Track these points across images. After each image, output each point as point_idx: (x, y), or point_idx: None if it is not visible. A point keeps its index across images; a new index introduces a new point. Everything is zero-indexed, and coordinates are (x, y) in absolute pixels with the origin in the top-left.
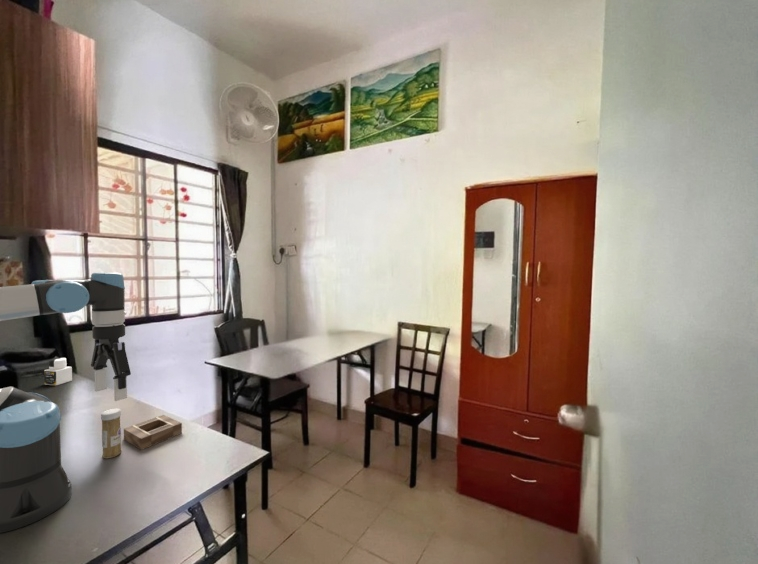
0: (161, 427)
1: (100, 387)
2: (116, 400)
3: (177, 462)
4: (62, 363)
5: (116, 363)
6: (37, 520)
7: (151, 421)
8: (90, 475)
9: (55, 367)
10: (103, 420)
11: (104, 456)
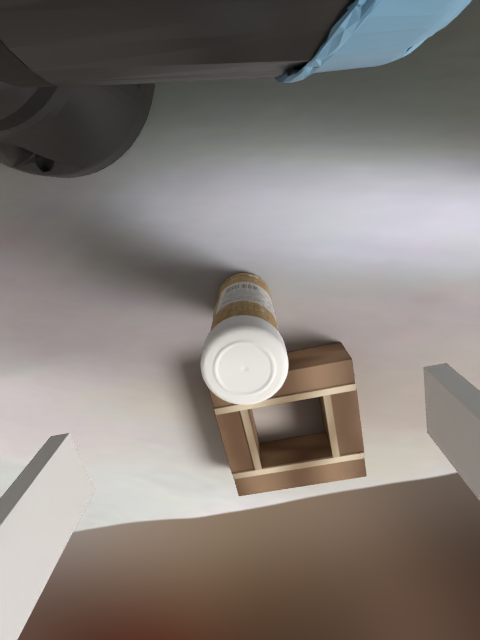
0: (249, 448)
1: (438, 412)
2: (52, 442)
3: (57, 417)
4: None
5: None
6: None
7: (333, 437)
8: (143, 230)
9: None
10: (224, 321)
11: (232, 278)
